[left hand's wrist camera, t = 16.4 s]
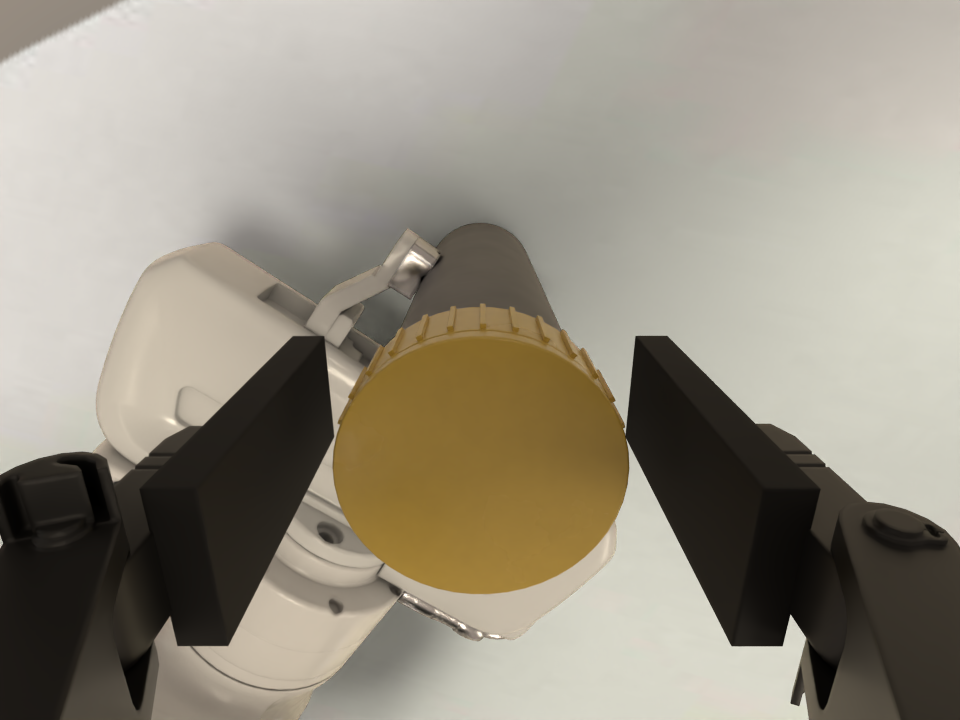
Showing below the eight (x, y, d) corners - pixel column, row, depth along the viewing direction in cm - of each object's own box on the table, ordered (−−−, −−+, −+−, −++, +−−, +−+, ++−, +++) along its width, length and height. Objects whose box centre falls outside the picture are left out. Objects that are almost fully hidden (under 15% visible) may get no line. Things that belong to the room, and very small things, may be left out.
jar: (417, 238, 26) (317, 377, 10) (517, 211, 26) (579, 312, 10) (445, 333, 28) (398, 584, 12) (540, 309, 27) (626, 535, 11)
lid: (387, 553, 13) (373, 617, 11) (318, 330, 11) (287, 365, 9) (623, 514, 13) (647, 574, 11) (592, 277, 11) (615, 302, 9)
